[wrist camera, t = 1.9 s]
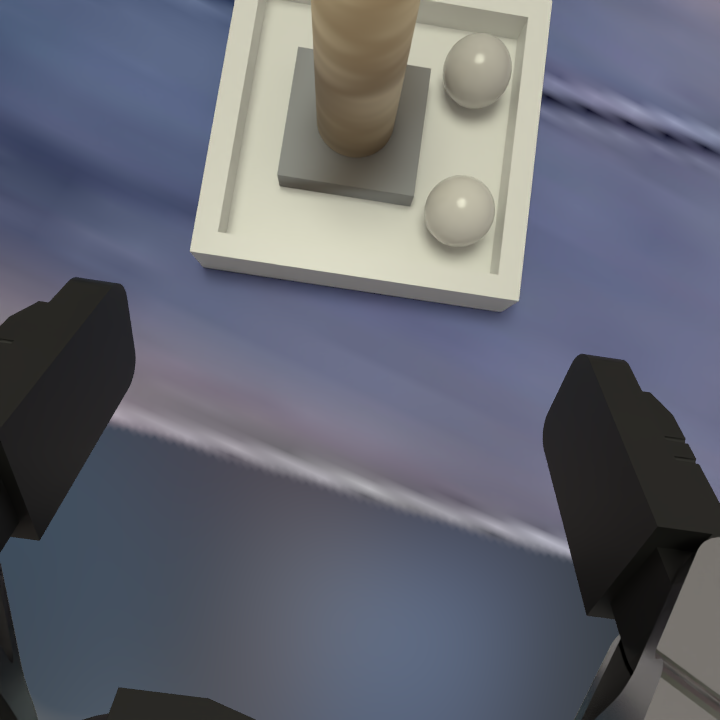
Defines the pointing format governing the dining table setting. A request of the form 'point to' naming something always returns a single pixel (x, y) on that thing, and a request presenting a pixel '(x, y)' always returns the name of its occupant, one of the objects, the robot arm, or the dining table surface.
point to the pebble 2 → (459, 211)
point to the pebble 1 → (477, 70)
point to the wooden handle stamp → (356, 103)
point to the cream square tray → (366, 217)
